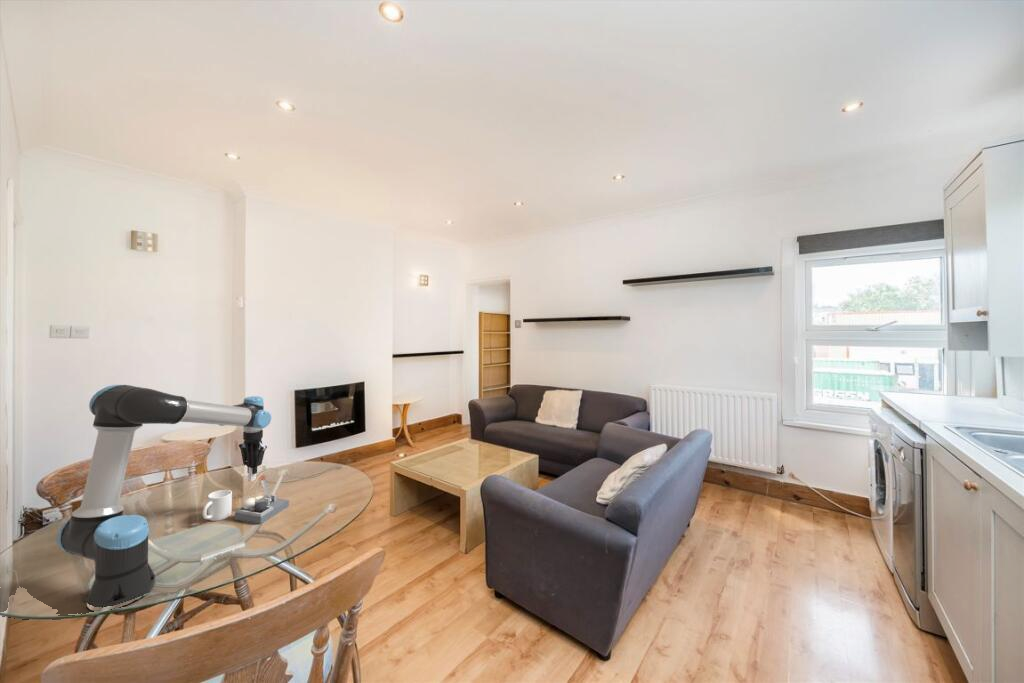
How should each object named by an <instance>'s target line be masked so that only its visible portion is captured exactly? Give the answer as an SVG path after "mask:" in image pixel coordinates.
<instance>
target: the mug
mask: <svg viewBox="0 0 1024 683" xmlns="http://www.w3.org/2000/svg"><path fill="white" fill-rule="evenodd" d="M232 500H233V491H232V490H231V489H220V490H215V491H213V492H211V493H209V494H208V495H207V503H205V505H204V507H203V508H202V511H201V512H202V518H203V519H204V520H208V521H212V522H219V521H222V520H225V519H227V518H229V517H230V516H231V514H232V507H233V506H232V505H233V501H232Z"/></svg>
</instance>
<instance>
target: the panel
mask: <svg viewBox="0 0 1024 683" xmlns="http://www.w3.org/2000/svg"><path fill="white" fill-rule="evenodd" d="M270 495H271V498H273V501H272V502H270V499H269V498H267V497H266V495H265V496H262V497H261V498H259V499H257V500H255V504H256V503H259V502H266V503H267V510H265V511H264V512H262V513H257V512H255V506H254V507H252V508H249V509H243V505H242V506H241V507H239V508H237V509H235V512H234V520H235V521H241V522H245V523H246V522H247V523H253V524H258V525H262V524H263V523H264V522H266V521H268V520H269V519H271V518H273V517H274V516H276V515H278V514H279V513H281V512H282V511H284V510H285V509H288V508H289V507H290V500H289V499H284V498H278V497H277V495H276V494H270ZM288 506H289V507H288Z"/></svg>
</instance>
